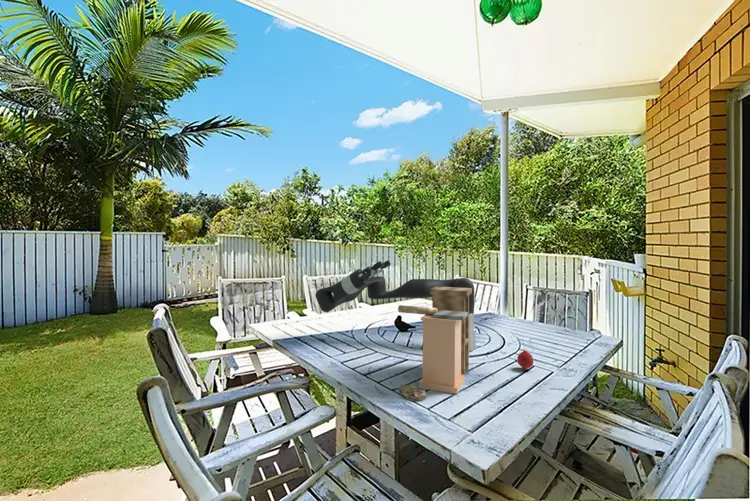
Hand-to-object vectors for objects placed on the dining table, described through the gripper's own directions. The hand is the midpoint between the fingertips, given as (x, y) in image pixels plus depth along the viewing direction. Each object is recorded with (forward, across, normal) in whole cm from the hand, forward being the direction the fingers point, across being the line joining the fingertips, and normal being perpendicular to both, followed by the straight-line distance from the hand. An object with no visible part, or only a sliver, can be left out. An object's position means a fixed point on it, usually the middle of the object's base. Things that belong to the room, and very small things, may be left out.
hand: (385, 262), depth 144 cm
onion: (+23, +18, +62) cm, 69 cm away
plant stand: (+1, +4, +49) cm, 49 cm away
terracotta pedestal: (0, -10, +49) cm, 50 cm away
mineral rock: (-6, -23, +46) cm, 51 cm away
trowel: (+9, -10, +26) cm, 29 cm away
